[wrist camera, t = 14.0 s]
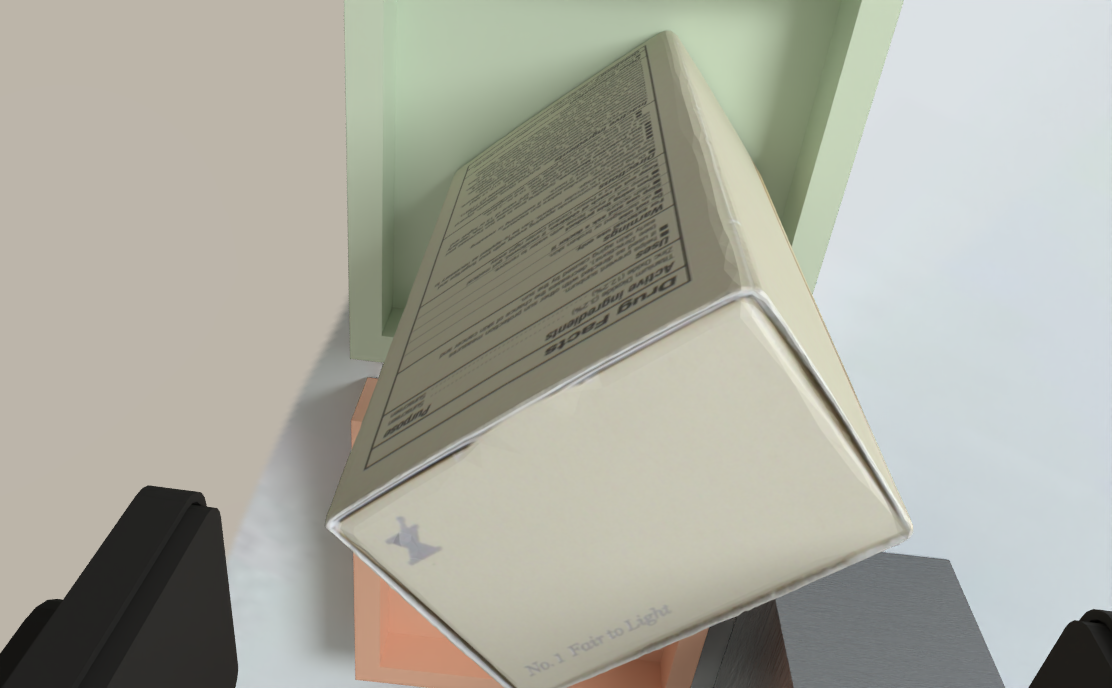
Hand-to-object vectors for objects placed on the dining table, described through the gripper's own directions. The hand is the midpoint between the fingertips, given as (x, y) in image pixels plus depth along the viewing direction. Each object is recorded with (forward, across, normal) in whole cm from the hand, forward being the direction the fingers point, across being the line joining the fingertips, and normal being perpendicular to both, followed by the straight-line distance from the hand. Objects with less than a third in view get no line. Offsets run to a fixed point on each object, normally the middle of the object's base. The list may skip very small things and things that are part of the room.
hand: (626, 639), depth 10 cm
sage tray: (+14, +1, -1) cm, 14 cm away
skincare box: (+14, 0, 0) cm, 14 cm away
